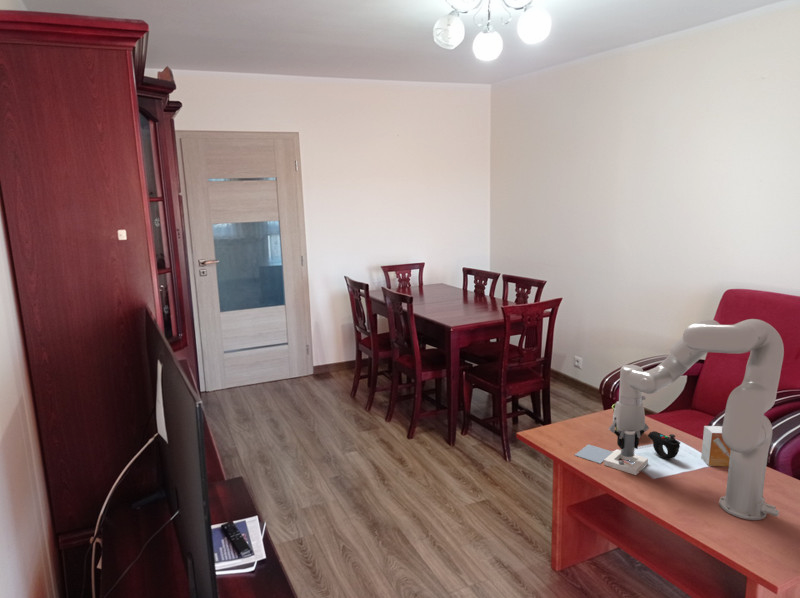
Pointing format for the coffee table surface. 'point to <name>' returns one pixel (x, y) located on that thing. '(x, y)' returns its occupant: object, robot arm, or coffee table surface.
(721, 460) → the small box
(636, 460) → the frame
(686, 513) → the coffee table surface
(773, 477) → the coffee table surface
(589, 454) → the mat
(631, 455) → the cartridge
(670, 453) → the controller
